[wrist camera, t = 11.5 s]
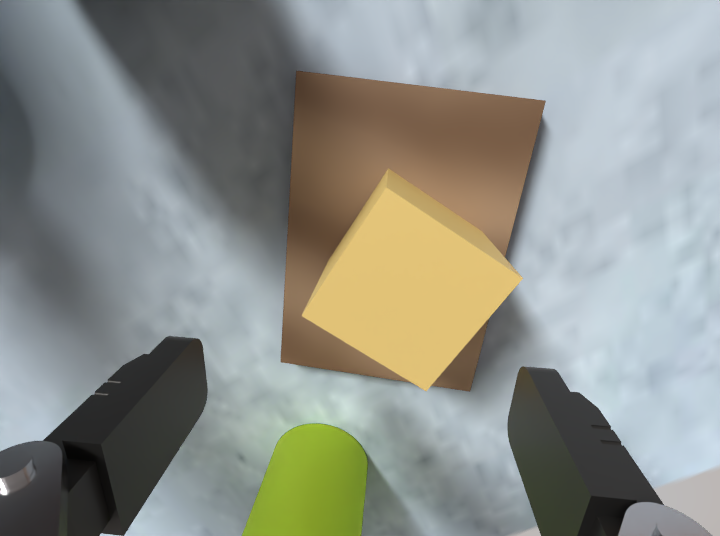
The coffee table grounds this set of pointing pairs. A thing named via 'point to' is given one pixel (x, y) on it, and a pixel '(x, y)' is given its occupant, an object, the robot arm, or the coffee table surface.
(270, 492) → the soap dispenser
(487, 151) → the post board
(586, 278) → the coffee table surface
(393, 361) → the tan wooden block
